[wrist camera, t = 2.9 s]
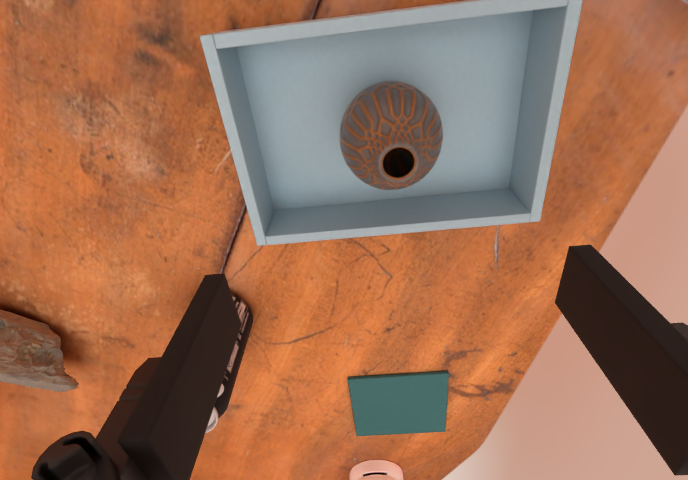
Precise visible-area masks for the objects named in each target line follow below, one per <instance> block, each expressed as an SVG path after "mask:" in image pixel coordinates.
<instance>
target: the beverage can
mask: <svg viewBox="0 0 688 480" xmlns="http://www.w3.org/2000/svg"><path fill="white" fill-rule="evenodd" d="M231 294H232V293H231ZM232 297H233V300H234V303H235V306H236V309H237V312H238V315H239V318H240V320H241V323H242V325H241V328H240V331H239V334H238V337H237V340H236V343H235V346H234V349H233V352H232V355H231V358H230V361H229V364H228V367H227V370H226V373H225V376H224V379H223V382H222V385H221V388H220V391H219V394H218V396H217V399H216V402H215V405H214V408H213V411H212V414H211V417H210V420H209V423H208V426H207V429H206V432H205V433H207V432H209V431H211V430H212V429H213V428H214V427H215V426H216V424H217V422H218V418H219V417H220V416H221V415H223V414H224V412H225V411H226V409H227V407H228V404H229V400H230V397H231V394H232V390H233V387H234V384H235V380H236V377H237V374H238V370H239V367H240V364H241V360H242V357H243V354H244V350H245V347H246V344H247V340H248V337H249V334H250V330H251V327H252V324H253V315H252V312H251V310H250V308H249V307H248V305H247V304H246V303H245V302H244V301H243V300H242V299H241V298H239V297H238V296H236V295H234V294H232Z"/></svg>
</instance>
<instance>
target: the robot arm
mask: <svg viewBox="0 0 688 480" xmlns="http://www.w3.org/2000/svg"><path fill="white" fill-rule="evenodd" d="M555 304H556V305H557V306H558V308H559V309H560V311H561V312H562V314H563V315H564V316H565V318H566V319H567V321H568V322H569V324H570V325H571V327H572V328H573V329H574V331H575V332H576V334H577V335H578V337H579V338H580V340H581V341H582V342H583V344H584V345H585V347H586V348H587V350H588V351H589V353H590V354H591V355H592V357H593V358H594V360H595V361H596V363H597V364H598V365H599V367H600V368H601V370H602V371H603V373H604V374H605V376H606V377H607V378H608V380H609V381H610V383H611V384H612V386H613V387H614V389H615V390H616V391H617V393H618V394H619V396H620V397H621V399H622V400H623V401H624V403H625V404H626V406H627V407H628V409H629V410H630V412H631V413H632V415H633V416H634V417H635V419H636V420H637V422H638V423H639V424H640V426H641V427H642V429H643V430H644V432H645V433H646V435H647V436H648V437H649V439H650V440H651V442H652V443H653V445H654V446H655V448H656V449H657V451H658V452H659V453H660V455H661V456H662V458H663V459H664V460H665V462H666V463H667V465H668V466H669V468H670V469H671V471H672V472H673V474H674V475H688V325H686V324H684V323H671V324H670V323H669V322H668V321H667V320H666V319H665V318H664V317H663V316H662V315H661V314H660V313H659V312H658V311H657V310H656V309H655V308H654V307H653V306H652V305H651V304H650V303H649V302H648V301H647V300H646V299H645V298H644V297H643V296H642V295H641V294H640V293H639V292H638V291H637V290H636V289H635V288H634V287H633V286H632V285H631V284H630V283H629V282H628V281H627V280H626V279H625V278H624V277H623V276H622V275H621V274H620V273H619V272H618V271H617V270H616V269H615V268H614V267H613V266H612V265H611V264H610V263H609V262H608V261H607V260H606V259H605V258H603V256H602V255H601V254H600V253H599V252H598V251H597V250H596V249H594V248H593V247H592V246H591V245H581V246H569V249H568V253H567V257H566V261H565V265H564V269H563V273H562V277H561V281H560V285H559V289H558V292H557V296H556V300H555ZM241 325H242V323H241V320H240V318H239V315H238V312H237V309H236V306H235V303H234V300H233V297H232V294H231V291H230V288H229V286H228V283H227V280H226V277H225V274H213V275H205V277H204V279H203V281H202V283H201V284H200V286H199V288H198V290H197V292H196V294H195V296H194V298H193V299H192V301H191V303H190V305H189V307H188V309H187V311H186V313H185V314H184V316H183V318H182V320H181V322H180V324H179V326H178V328H177V329H176V331H175V333H174V335H173V337H172V339H171V341H170V343H169V344H168V346H167V348H166V350H165V352H164V354H163V356H162V357H158V358H148V359H147V360H146V361H145V362H144V363H143V364H142V365H141V366H140V367H139V368H138V369H137V370H136V371H135V372H134V374H133V376H132V377H131V379H130V381H129V383H128V384H127V388H126V389H124V391H123V393H122V395H121V396H120V398H119V399H120V400H119V401H117V403H116V405H115V406H114V408H113V410H112V412H111V413H110V415H109V417H108V418H107V420H106V422H105V424H104V425H103V427H102V429H101V430H100V432H99V434H98V435H97V437H96V439H95V438H94V437H93V435H92V434H91V433H88V432H85V431H79V432H73V433H71V434H68V435H66V436H64V437H62V438H60V439H59V440H57V441H56V442H55V443H53V444H52V445H50V446H49V447H48V448H47V449H46V450H45V451H44V453H43V454H42V455H41V456H40V457H39V459H38V460H37V462H36V464H35V466H34V467H33V472H32V477H31V478H32V479H33V480H189V479H190V476H191V474H192V471H193V468H194V465H195V462H196V459H197V456H198V453H199V450H200V447H201V444H202V441H203V438H204V435H205V432H206V429H207V426H208V423H209V420H210V417H211V414H212V411H213V408H214V405H215V402H216V399H217V396H218V394H219V391H220V388H221V385H222V382H223V379H224V376H225V373H226V370H227V367H228V364H229V361H230V358H231V355H232V352H233V349H234V346H235V343H236V340H237V337H238V334H239V331H240V328H241Z"/></svg>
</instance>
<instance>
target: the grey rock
mask: <svg viewBox="0 0 688 480" xmlns="http://www.w3.org/2000/svg"><path fill="white" fill-rule="evenodd" d="M60 345H61V339H60V337H59V336H58V335H57V334H55V333H54V332H53V331H52V330H51V329H49V325H47V324H45V323H41V322H38V321H35V320H32V319H29V318H26V317H23V316H20V315H17V314H14V313H11V312H8V311H3V310H0V381H1V382H6V383H11V384H18V385H23V386H28V387H31V388H41V389H46V390H52V391H57V392H63V391H69V390H72V389H75V388H77V386H78V384H79V383H77V382H76V380H75V379H74V378H73V377H71V376H69V375H67V374H66V373H65V372H64V370H65V368H63V353H62V351H61V350H60Z"/></svg>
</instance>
